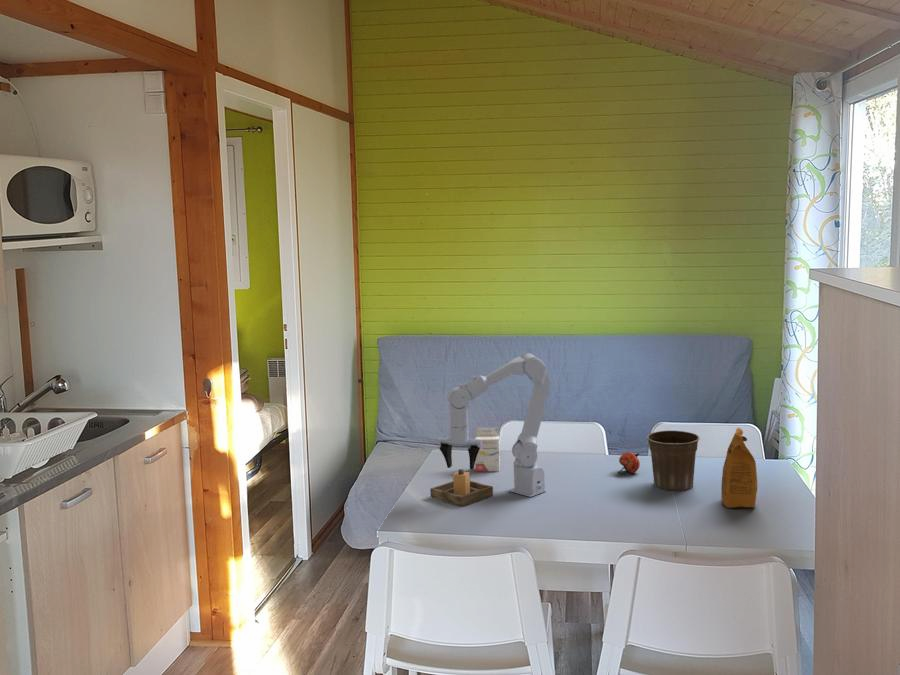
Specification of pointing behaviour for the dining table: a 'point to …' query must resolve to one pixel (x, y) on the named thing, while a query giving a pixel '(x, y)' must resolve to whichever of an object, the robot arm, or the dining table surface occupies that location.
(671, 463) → the plant pot
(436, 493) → the walled box
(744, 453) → the coffee package
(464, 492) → the tan tall block
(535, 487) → the robot arm
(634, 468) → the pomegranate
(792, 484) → the dining table surface
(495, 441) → the ink cartridge box
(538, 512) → the dining table surface
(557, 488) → the dining table surface
